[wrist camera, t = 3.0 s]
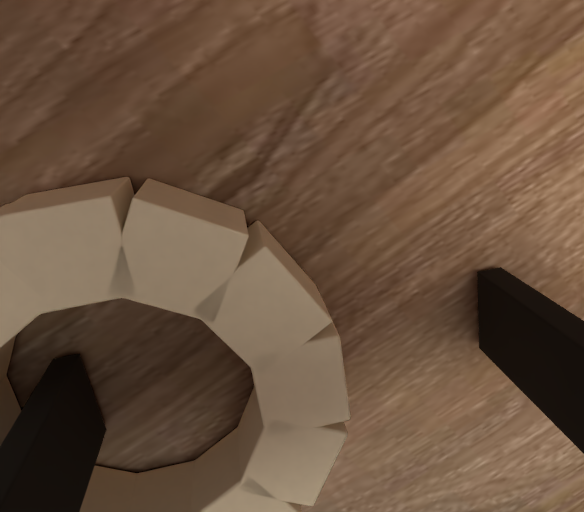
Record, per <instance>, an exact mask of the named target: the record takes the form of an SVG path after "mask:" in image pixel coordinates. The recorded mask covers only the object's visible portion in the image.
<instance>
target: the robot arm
mask: <svg viewBox="0 0 584 512" xmlns="http://www.w3.org/2000/svg"><path fill="white" fill-rule="evenodd" d="M477 277H478V317H479V348H480V349H481V350H482V351H483V352H484V353H485V354H486V355H487V356H488V357H489V358H490V359H491V360H492V361H493V362H494V363H495V364H496V365H497V366H498V367H499V368H500V369H501V370H502V371H503V373H504V374H505V375H506V376H507V377H508V378H509V379H510V380H511V381H512V382H513V383H514V384H515V385H516V386H517V387H518V388H519V389H520V390H521V391H522V392H523V393H524V394H525V395H526V396H527V397H528V398H529V399H530V400H531V401H532V402H533V403H534V404H535V405H536V406H537V407H538V408H539V409H540V410H541V411H542V412H543V413H544V414H545V415H546V416H547V417H548V418H549V419H550V420H551V421H552V422H553V423H554V424H555V425H556V426H557V427H558V428H559V429H560V430H561V431H562V432H563V433H564V434H565V435H566V436H567V437H568V438H569V439H570V440H571V441H572V442H573V443H574V444H575V445H576V446H577V447H578V448H579V449H580V450H581V451H582V452H583V453H584V321H583V320H581V319H580V318H578V317H577V316H575V315H574V314H572V313H570V312H569V311H567V310H566V309H564V308H563V307H561V306H560V305H558V304H557V303H555V302H553V301H552V300H550V299H549V298H547V297H546V296H544V295H543V294H541V293H540V292H538V291H536V290H535V289H533V288H532V287H530V286H529V285H527V284H526V283H524V282H522V281H521V280H519V279H518V278H516V277H515V276H513V275H512V274H510V273H509V272H507V271H505V270H504V269H502V268H501V267H500V268H495V269H490V270H485V271H480V272H477ZM105 432H106V427H105V424H104V421H103V419H102V416H101V413H100V410H99V407H98V405H97V402H96V399H95V396H94V393H93V390H92V388H91V385H90V382H89V379H88V376H87V374H86V371H85V368H84V365H83V362H82V359H81V357H80V354H76V355H71V356H66V357H61V358H57V359H53V360H52V361H51V363H50V365H49V366H48V368H47V370H46V371H45V373H44V375H43V376H42V378H41V380H40V381H39V383H38V385H37V386H36V388H35V389H34V391H33V393H32V394H31V396H30V398H29V399H28V401H27V403H26V404H25V406H24V408H23V409H22V411H21V413H20V414H19V416H18V418H17V419H16V421H15V422H14V424H13V426H12V427H11V429H10V431H9V432H8V434H7V436H6V437H5V439H4V441H3V442H2V444H1V446H0V512H80V509H81V505H82V502H83V499H84V496H85V493H86V490H87V487H88V484H89V481H90V478H91V475H92V472H93V469H94V466H95V463H96V460H97V457H98V453H99V450H100V447H101V444H102V441H103V438H104V435H105Z"/></svg>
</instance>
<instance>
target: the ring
mask: <svg viewBox="0 0 584 512" xmlns="http://www.w3.org/2000/svg"><path fill="white" fill-rule="evenodd" d="M119 298H125V299H128V300H132V301H136V302H139V303H143V304H147V305H150V306H154V307H158V308H161V309H165V310H169V311H172V312H176V313H179V314H183V315H187V316H190V317H194V318H198V319H201V320H202V321H203V322H204V323H205V324H206V325H207V326H208V327H209V328H210V329H211V330H212V331H213V332H214V333H215V334H216V335H217V336H218V337H220V338H221V339H222V340H223V341H224V342H225V343H226V344H227V345H228V346H229V347H230V348H231V349H232V350H233V351H234V352H235V353H236V354H237V355H238V356H239V357H240V358H241V359H242V360H243V361H244V362H245V363H246V364H248V365H249V366H250V367H251V371H252V376H253V381H254V385H255V386H254V388H253V391H252V393H251V395H250V398H249V400H248V403H247V405H246V408H245V410H244V413H243V415H242V417H241V420H240V422H239V425H238V427H237V428H236V429H234V430H233V431H232V432H231V433H229V434H228V435H227V436H225V437H224V438H223V439H222V440H220V441H219V442H218V443H216V444H215V445H214V446H213V447H211V448H210V449H209V450H207V451H206V452H205V453H204V454H202V455H201V456H200V457H198V458H197V459H196V460H194V461H190V462H185V463H181V464H177V465H172V466H168V467H163V468H159V469H154V470H150V471H145V472H141V473H132V472H127V471H121V470H116V469H111V468H105V467H100V466H94V469H93V472H92V475H91V478H90V481H89V484H88V487H87V490H86V493H85V496H84V499H83V502H82V505H81V509H80V512H302V509H301V504H302V505H307V506H313V505H314V504H315V502H316V500H317V498H318V496H319V493H320V491H321V489H322V487H323V485H324V483H325V481H326V479H327V477H328V475H329V473H330V471H331V469H332V467H333V465H334V463H335V460H336V458H337V456H338V454H339V452H340V450H341V448H342V446H343V444H344V442H345V440H346V438H347V435H348V432H347V430H346V427H345V424H344V421H348V420H350V418H351V414H350V407H349V399H348V392H347V384H346V377H345V370H344V362H343V355H342V348H341V340H340V336H339V334H338V332H337V329H336V327H335V325H334V323H333V321H332V318H331V316H330V314H329V312H328V310H327V308H326V306H325V304H324V301H323V299H322V297H321V295H320V293H319V291H318V289H317V287H316V285H315V283H314V282H313V281H312V280H311V279H310V278H309V277H308V276H307V274H306V273H305V272H304V271H303V270H302V269H301V268H300V266H299V265H298V264H297V263H296V262H295V261H294V260H293V259H292V257H291V256H290V255H289V254H288V253H287V252H286V251H285V249H284V248H283V247H282V246H281V245H280V244H279V243H278V242H277V240H276V239H275V238H274V237H273V236H272V235H271V234H270V232H269V231H268V230H267V229H266V228H265V227H264V226H263V225H262V223H261V222H260V221H258V220H257V221H255V222H254V223H253V224H252V225H251V226H249V227H248V228H247V224H246V219H245V214H244V211H243V210H241V209H238V208H236V207H233V206H230V205H227V204H224V203H221V202H218V201H215V200H212V199H209V198H206V197H203V196H200V195H197V194H194V193H191V192H188V191H185V190H182V189H179V188H176V187H173V186H170V185H167V184H164V183H161V182H158V181H156V180H153V179H150V178H148V179H147V180H146V181H145V182H144V184H143V185H142V186H141V188H140V189H139V190H138V192H137V193H136V194H135V195H134V191H133V188H132V184H131V181H130V178H129V177H122V178H117V179H111V180H105V181H100V182H94V183H88V184H83V185H77V186H71V187H66V188H60V189H55V190H49V191H43V192H38V193H32V194H26V195H24V196H22V197H21V198H19V199H17V200H16V201H14V202H12V203H10V204H9V203H7V204H5V205H3V206H1V207H0V446H1V444H2V442H3V441H4V439H5V437H6V436H7V434H8V432H9V431H10V429H11V427H12V426H13V424H14V422H15V421H16V419H17V418H18V416H19V414H20V413H21V408H20V406H19V404H18V401H17V399H16V397H15V394H14V392H13V390H12V387H11V385H10V383H9V380H8V378H7V371H8V367H9V363H10V359H11V354H12V350H13V346H14V342H15V338H16V335H17V334H18V333H19V332H20V331H21V330H22V329H24V328H25V327H26V326H27V325H28V324H29V323H31V322H32V321H33V320H34V319H35V318H36V317H38V316H39V315H40V314H42V313H47V312H52V311H57V310H63V309H68V308H73V307H78V306H83V305H88V304H93V303H98V302H103V301H108V300H113V299H119Z"/></svg>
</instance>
